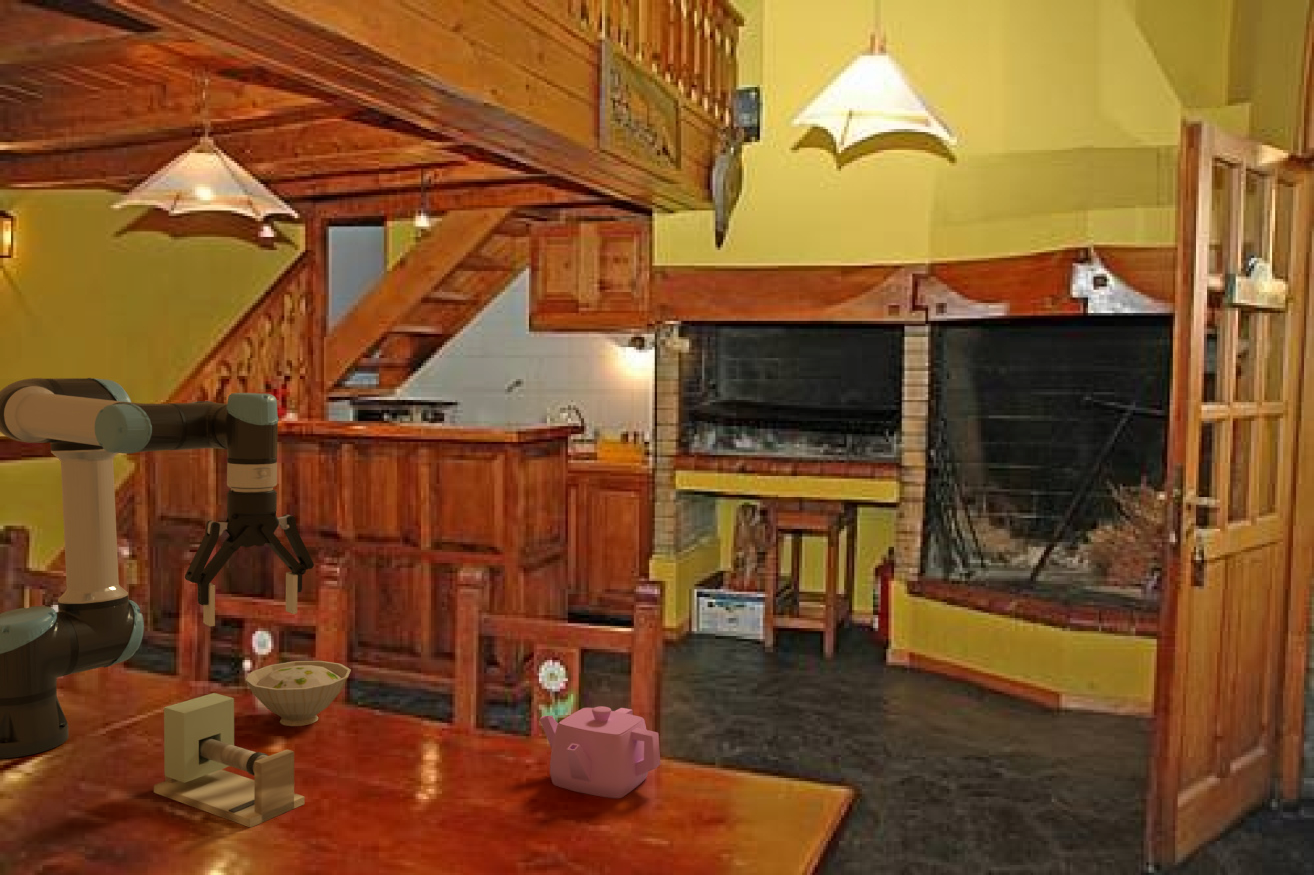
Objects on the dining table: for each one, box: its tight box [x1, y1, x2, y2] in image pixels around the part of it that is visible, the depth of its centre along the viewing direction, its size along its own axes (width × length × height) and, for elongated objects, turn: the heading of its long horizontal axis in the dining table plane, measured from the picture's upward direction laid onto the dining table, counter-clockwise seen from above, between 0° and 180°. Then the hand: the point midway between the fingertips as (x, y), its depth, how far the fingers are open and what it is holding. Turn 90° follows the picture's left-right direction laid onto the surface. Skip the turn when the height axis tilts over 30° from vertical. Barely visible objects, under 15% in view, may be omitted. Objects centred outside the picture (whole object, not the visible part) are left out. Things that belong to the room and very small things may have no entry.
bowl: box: [245, 660, 352, 727], centre depth 200 cm, size 19×19×10 cm
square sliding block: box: [163, 692, 235, 783], centre depth 167 cm, size 5×9×11 cm, turn 150°
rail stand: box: [153, 738, 305, 828], centre depth 164 cm, size 23×10×9 cm, turn 60°
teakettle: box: [539, 705, 661, 799], centre depth 174 cm, size 17×17×12 cm
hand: (251, 618), depth 170 cm, fingers open, 13 cm apart
